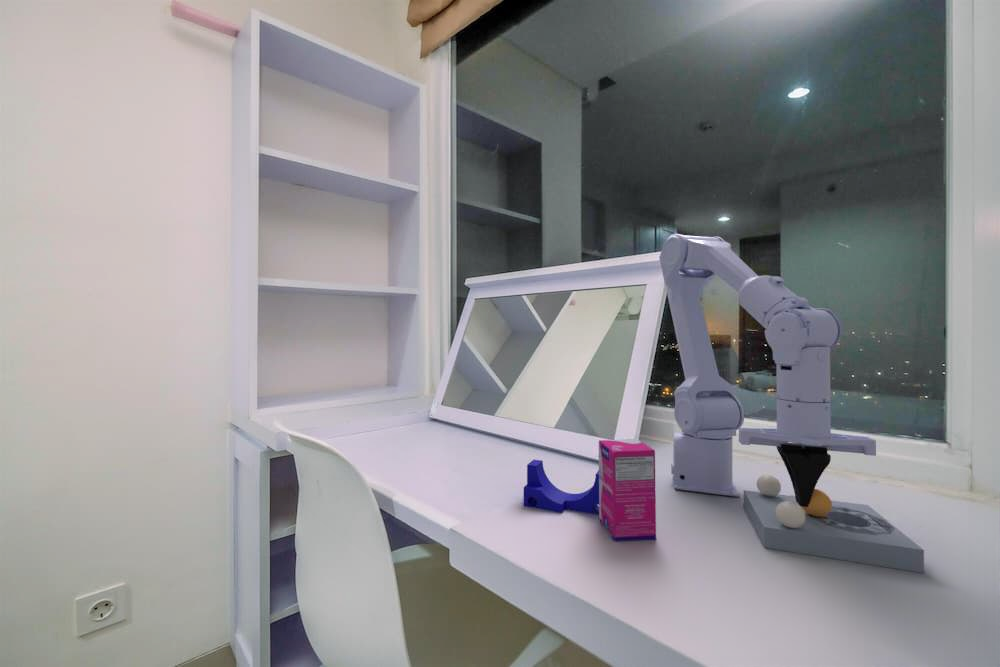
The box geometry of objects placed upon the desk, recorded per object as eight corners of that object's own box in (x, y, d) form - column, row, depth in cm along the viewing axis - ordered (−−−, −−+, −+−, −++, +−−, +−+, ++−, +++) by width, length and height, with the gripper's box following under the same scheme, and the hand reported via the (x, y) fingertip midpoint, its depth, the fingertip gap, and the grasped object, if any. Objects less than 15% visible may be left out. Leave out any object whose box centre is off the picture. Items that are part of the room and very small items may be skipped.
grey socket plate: (764, 547, 51) (764, 526, 51) (743, 506, 63) (743, 490, 63) (924, 572, 45) (923, 549, 45) (867, 523, 57) (867, 504, 57)
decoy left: (759, 498, 60) (759, 477, 60) (754, 490, 62) (754, 470, 62) (783, 501, 59) (783, 479, 59) (777, 493, 61) (777, 473, 61)
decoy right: (779, 530, 50) (779, 504, 50) (772, 519, 53) (772, 496, 53) (809, 534, 49) (809, 508, 49) (801, 523, 51) (801, 499, 52)
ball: (812, 487, 53) (841, 505, 51) (806, 479, 56) (834, 496, 54) (795, 508, 54) (824, 526, 52) (791, 499, 57) (817, 516, 55)
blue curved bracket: (523, 507, 63) (523, 467, 63) (533, 496, 67) (533, 459, 67) (604, 522, 58) (604, 479, 58) (609, 509, 62) (609, 469, 62)
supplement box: (597, 521, 57) (597, 438, 58) (638, 520, 58) (639, 438, 58) (612, 542, 52) (612, 450, 52) (658, 540, 52) (658, 449, 52)
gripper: (745, 400, 53) (745, 506, 53) (888, 407, 48) (889, 525, 48) (736, 394, 60) (736, 489, 60) (861, 400, 55) (862, 504, 54)
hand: (803, 504), depth 54 cm, fingers closed, pressing on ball
